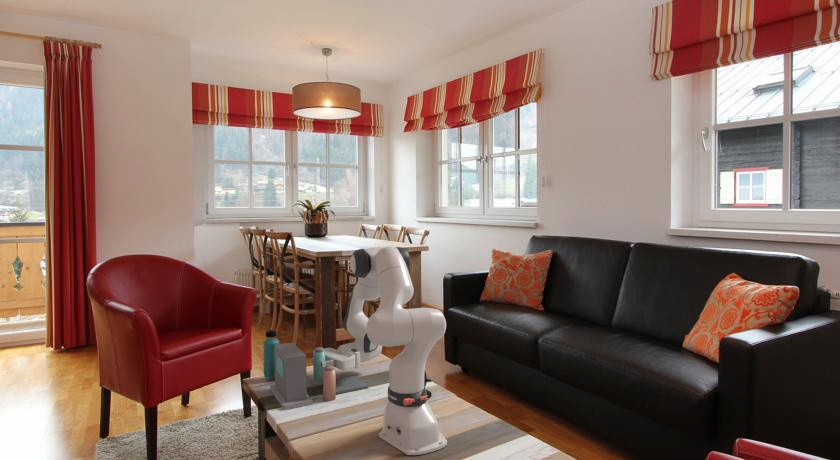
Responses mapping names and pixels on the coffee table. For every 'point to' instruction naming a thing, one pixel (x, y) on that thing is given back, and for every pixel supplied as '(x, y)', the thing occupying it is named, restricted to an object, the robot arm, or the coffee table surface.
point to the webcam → (425, 385)
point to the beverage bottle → (270, 354)
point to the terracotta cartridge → (329, 383)
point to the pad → (349, 384)
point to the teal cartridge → (318, 363)
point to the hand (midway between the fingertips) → (317, 362)
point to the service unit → (290, 377)
